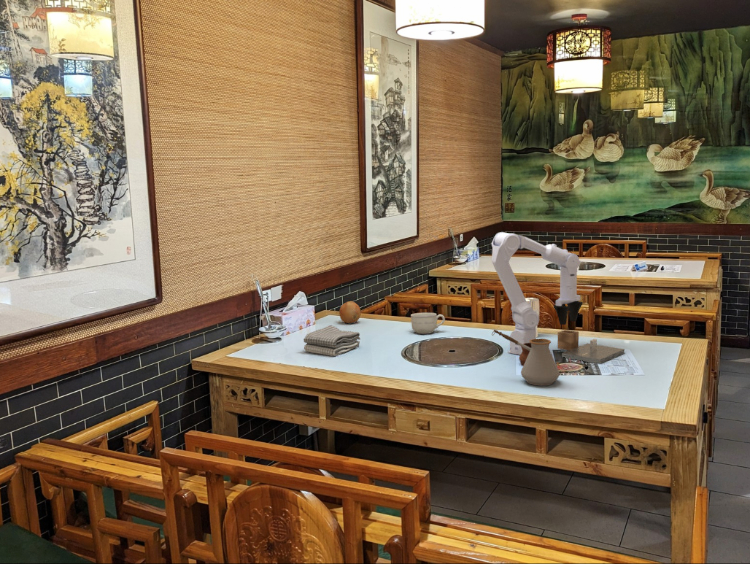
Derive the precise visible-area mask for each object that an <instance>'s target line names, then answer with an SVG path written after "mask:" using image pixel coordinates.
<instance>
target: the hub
mask: <svg viewBox="0 0 750 564" xmlns="http://www.w3.org/2000/svg"><path fill="white" fill-rule="evenodd" d="M623 353H624V354H625V349H624V348H619V347H613V346H606V345H600V344H598V339H597V338H593V339H591V340H589V343H586V344H583V345H580V346H579V347H577V348H574V349H572V350H565V351H564V352H562V353H561V358H563V357H565V359H569V358H571V359H570V360H575V359H577V360H576V361H580V360H583V362H588V363H593V364H598V365H601V364H602V363H605V362H607V361H610V360H612V359H615V358H617V357H619V356H621V354H622V355H624V354H623ZM614 357H615V358H614Z"/></svg>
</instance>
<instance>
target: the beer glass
mask: <svg viewBox="0 0 750 564" xmlns="http://www.w3.org/2000/svg"><path fill="white" fill-rule="evenodd" d="M525 299H526V301H527V302H528V303H529V305H530V306H531V307H532V309H533V311H534V312H536V313H537V314H538V316H539V317H540V300H539V298H538V297H537V298H536V297H525ZM538 338H539V333H538V325H537V326H536V339H538Z"/></svg>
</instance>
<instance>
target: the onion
mask: <svg viewBox="0 0 750 564" xmlns="http://www.w3.org/2000/svg"><path fill="white" fill-rule="evenodd" d="M338 314H339V317H340V320H341V321H342V322H343V323H345V322H346V323H345V324H347V323H351V324H354V322H355V323H356V322H357V321H359V320H360V318H361V314H362V312H361V308H360V306H359V305H358V304H357V303H356V302H355V301H353V300H350V301H346V302H345V303H343V304H342V305H340V308H339V311H338Z"/></svg>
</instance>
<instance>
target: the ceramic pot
mask: <svg viewBox="0 0 750 564" xmlns="http://www.w3.org/2000/svg"><path fill="white" fill-rule="evenodd" d="M524 345H526V346H528V347H530V348H532V346H531V343H524ZM521 348H522V353H521V355H519V356H518V361H519V362H520V365H521V366H522V367H523V366H524V364H525V361H526V359H527V357H528V354H529V352H530V351H529V350H527V349H525V348H523V347H522V346H521ZM560 365H561V364H560V363H559V362H558V361H556V366H557V367H560Z"/></svg>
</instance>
